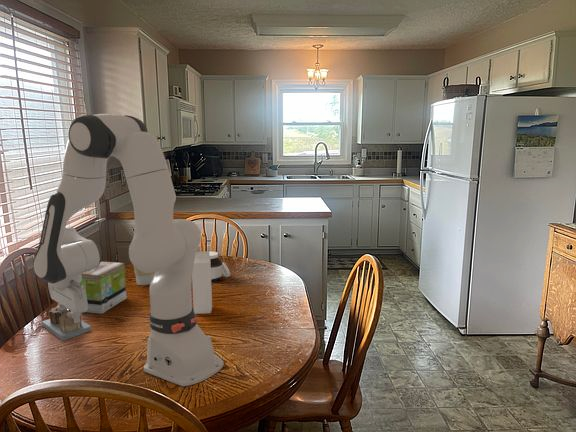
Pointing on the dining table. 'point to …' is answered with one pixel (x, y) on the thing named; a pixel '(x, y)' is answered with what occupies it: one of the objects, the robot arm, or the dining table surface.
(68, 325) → the birch gear
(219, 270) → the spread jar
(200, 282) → the milk
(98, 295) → the tea box
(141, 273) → the coffee cup
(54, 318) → the walnut gear
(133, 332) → the dining table surface
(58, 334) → the gear board
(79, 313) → the robot arm
